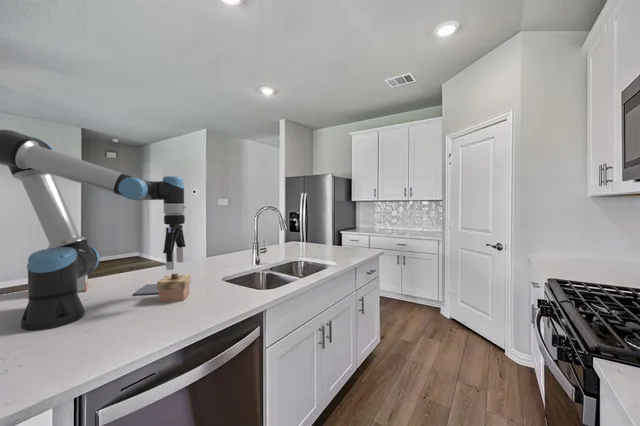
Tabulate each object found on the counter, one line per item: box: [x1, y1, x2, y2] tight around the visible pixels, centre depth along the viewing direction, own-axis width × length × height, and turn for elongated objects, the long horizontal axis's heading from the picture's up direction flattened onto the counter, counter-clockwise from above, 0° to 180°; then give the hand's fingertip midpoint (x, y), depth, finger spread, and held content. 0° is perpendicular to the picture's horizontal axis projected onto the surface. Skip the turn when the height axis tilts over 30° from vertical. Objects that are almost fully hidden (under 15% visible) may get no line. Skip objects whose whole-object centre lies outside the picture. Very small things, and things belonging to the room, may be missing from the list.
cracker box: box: [77, 274, 89, 293], centre depth 126 cm, size 14×6×21 cm, turn 37°
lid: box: [156, 273, 192, 290], centre depth 116 cm, size 10×10×5 cm
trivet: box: [132, 283, 159, 297], centre depth 126 cm, size 14×14×1 cm
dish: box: [158, 283, 190, 303], centre depth 116 cm, size 9×9×5 cm
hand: (175, 265), depth 115 cm, fingers open, 13 cm apart
